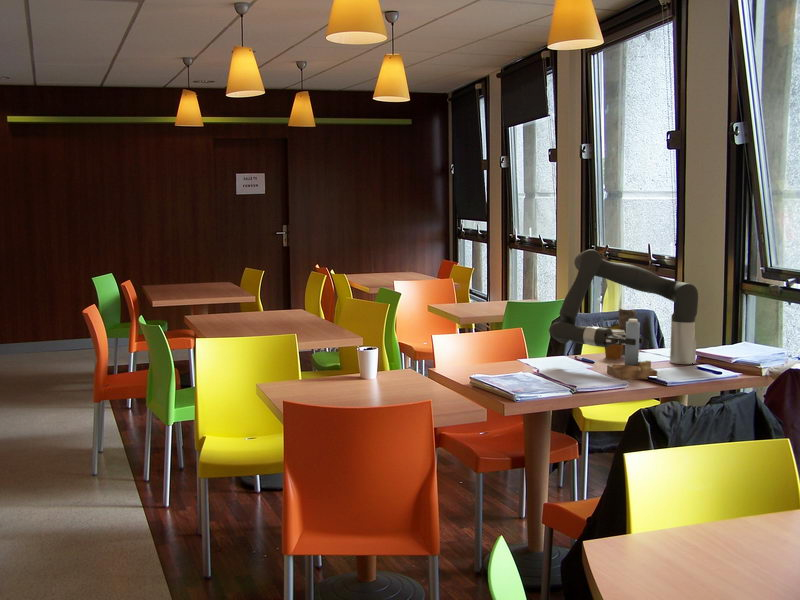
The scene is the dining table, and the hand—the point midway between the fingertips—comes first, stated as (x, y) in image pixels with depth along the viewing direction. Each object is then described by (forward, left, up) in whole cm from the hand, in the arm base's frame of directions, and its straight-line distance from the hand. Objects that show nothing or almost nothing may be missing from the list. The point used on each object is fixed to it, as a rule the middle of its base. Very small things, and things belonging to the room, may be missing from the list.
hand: (638, 341), depth 313 cm
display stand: (+2, -2, -13) cm, 14 cm away
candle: (-16, -51, -14) cm, 55 cm away
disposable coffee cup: (-6, -41, -14) cm, 43 cm away
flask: (+2, -2, -9) cm, 9 cm away
